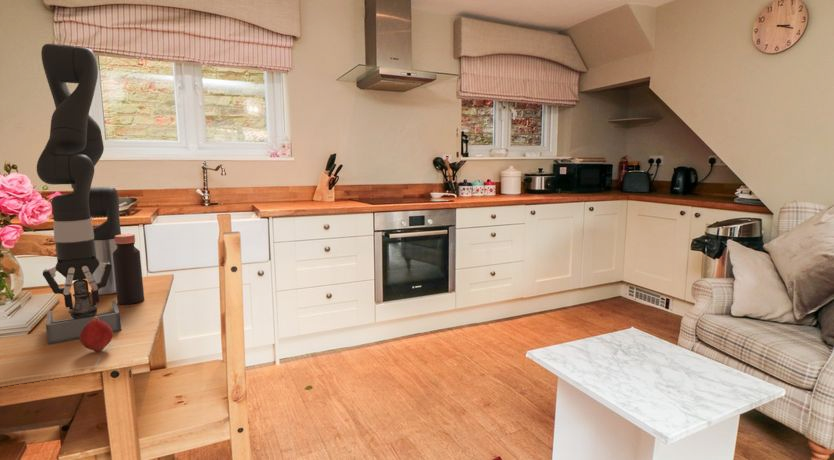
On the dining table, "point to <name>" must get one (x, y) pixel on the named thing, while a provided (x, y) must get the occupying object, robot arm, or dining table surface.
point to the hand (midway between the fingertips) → (82, 306)
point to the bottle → (127, 270)
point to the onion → (96, 335)
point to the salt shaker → (82, 301)
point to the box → (78, 325)
